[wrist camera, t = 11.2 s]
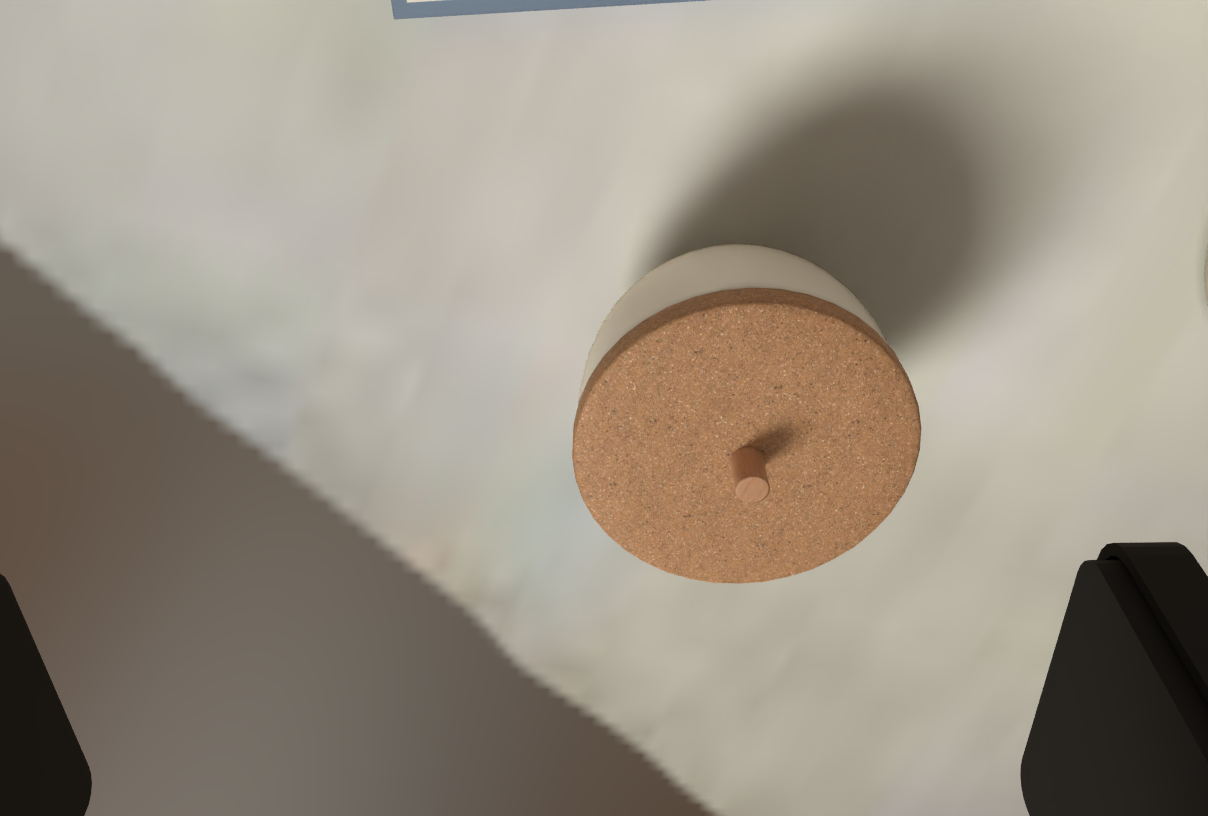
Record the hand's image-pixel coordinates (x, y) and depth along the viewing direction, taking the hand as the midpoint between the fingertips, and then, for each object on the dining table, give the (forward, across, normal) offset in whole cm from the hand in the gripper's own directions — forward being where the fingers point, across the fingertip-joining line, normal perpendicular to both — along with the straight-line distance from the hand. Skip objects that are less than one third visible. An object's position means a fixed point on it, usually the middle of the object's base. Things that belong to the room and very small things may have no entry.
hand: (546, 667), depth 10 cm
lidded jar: (+28, -4, +12) cm, 31 cm away
